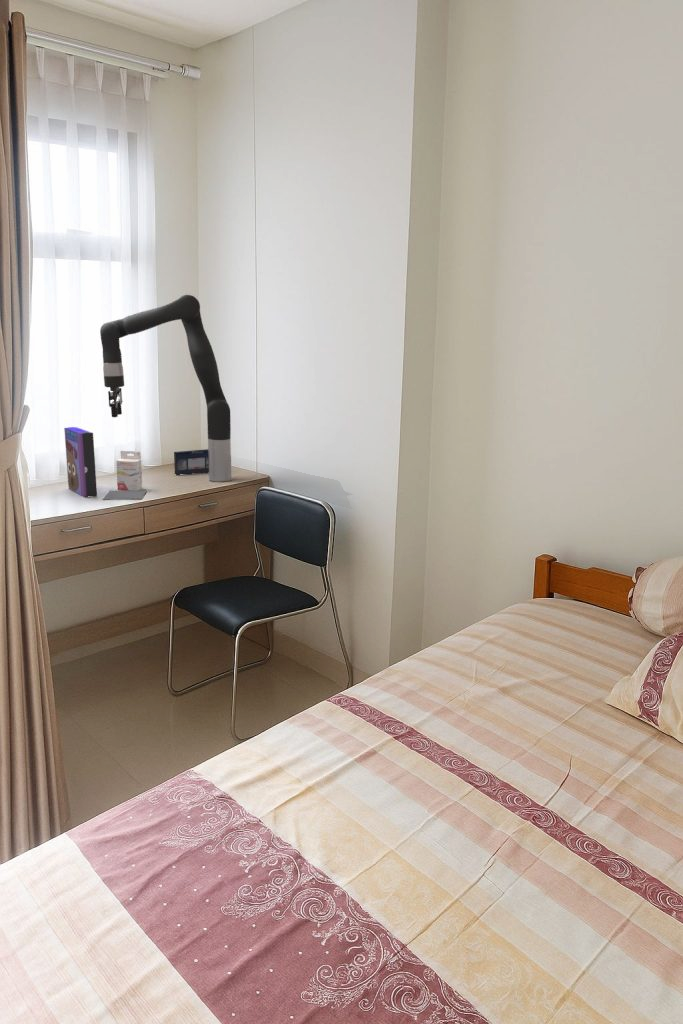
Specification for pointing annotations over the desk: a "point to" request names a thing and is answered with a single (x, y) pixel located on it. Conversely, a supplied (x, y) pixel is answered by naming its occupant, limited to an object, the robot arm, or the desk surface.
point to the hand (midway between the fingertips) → (116, 415)
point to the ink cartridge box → (129, 471)
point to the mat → (125, 494)
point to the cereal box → (80, 461)
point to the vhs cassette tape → (191, 462)
